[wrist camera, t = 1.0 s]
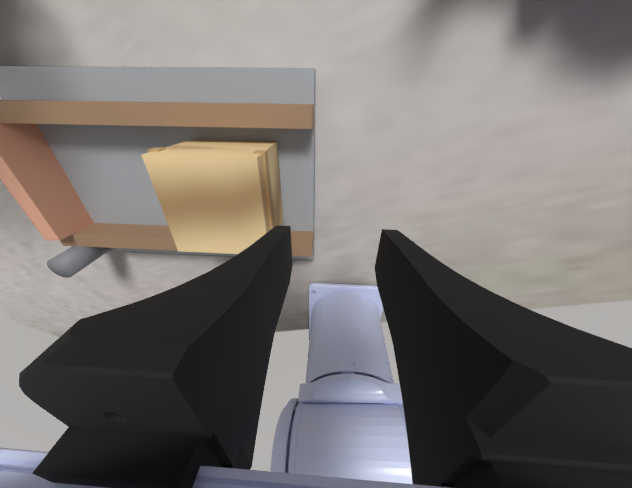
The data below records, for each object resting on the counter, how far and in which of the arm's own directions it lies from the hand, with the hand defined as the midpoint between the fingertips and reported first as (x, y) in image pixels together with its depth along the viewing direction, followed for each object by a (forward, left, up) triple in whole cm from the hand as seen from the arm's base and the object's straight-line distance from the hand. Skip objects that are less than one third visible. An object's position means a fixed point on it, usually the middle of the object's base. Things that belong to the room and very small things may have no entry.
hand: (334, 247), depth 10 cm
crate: (0, +7, -8) cm, 11 cm away
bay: (0, +12, -9) cm, 15 cm away
